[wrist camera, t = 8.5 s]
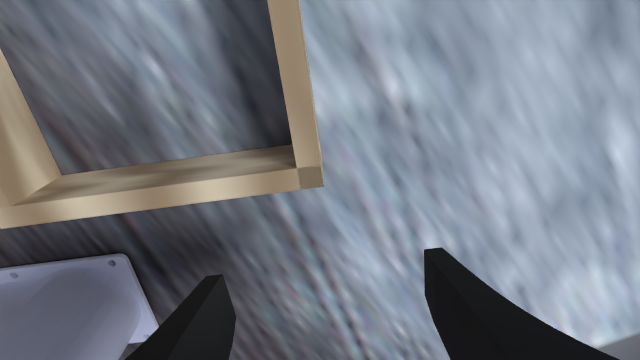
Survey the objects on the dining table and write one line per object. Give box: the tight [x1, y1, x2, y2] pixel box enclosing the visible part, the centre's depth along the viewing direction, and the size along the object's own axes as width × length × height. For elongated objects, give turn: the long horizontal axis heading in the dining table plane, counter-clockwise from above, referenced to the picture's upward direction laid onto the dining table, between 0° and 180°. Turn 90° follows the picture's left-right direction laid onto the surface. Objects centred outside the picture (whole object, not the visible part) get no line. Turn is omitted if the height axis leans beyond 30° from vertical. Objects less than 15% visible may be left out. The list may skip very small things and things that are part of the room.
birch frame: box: [0, 0, 324, 229], centre depth 18 cm, size 17×12×4 cm
